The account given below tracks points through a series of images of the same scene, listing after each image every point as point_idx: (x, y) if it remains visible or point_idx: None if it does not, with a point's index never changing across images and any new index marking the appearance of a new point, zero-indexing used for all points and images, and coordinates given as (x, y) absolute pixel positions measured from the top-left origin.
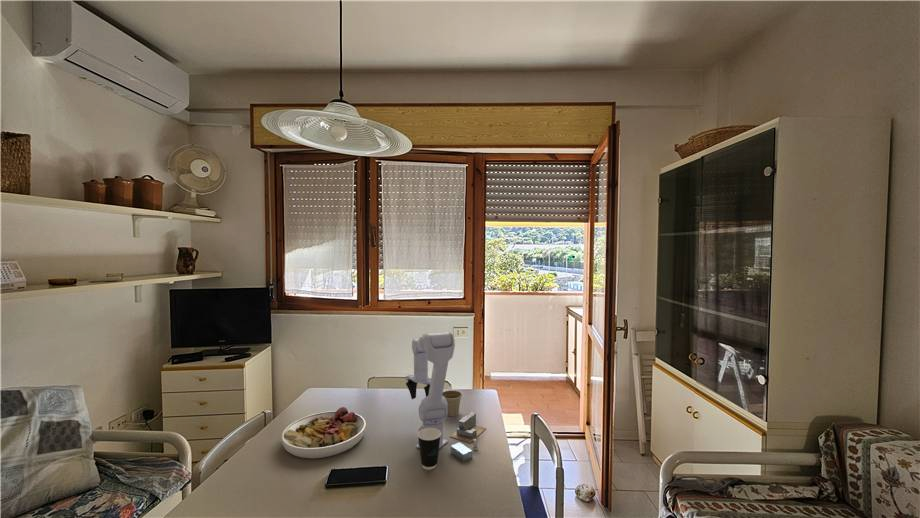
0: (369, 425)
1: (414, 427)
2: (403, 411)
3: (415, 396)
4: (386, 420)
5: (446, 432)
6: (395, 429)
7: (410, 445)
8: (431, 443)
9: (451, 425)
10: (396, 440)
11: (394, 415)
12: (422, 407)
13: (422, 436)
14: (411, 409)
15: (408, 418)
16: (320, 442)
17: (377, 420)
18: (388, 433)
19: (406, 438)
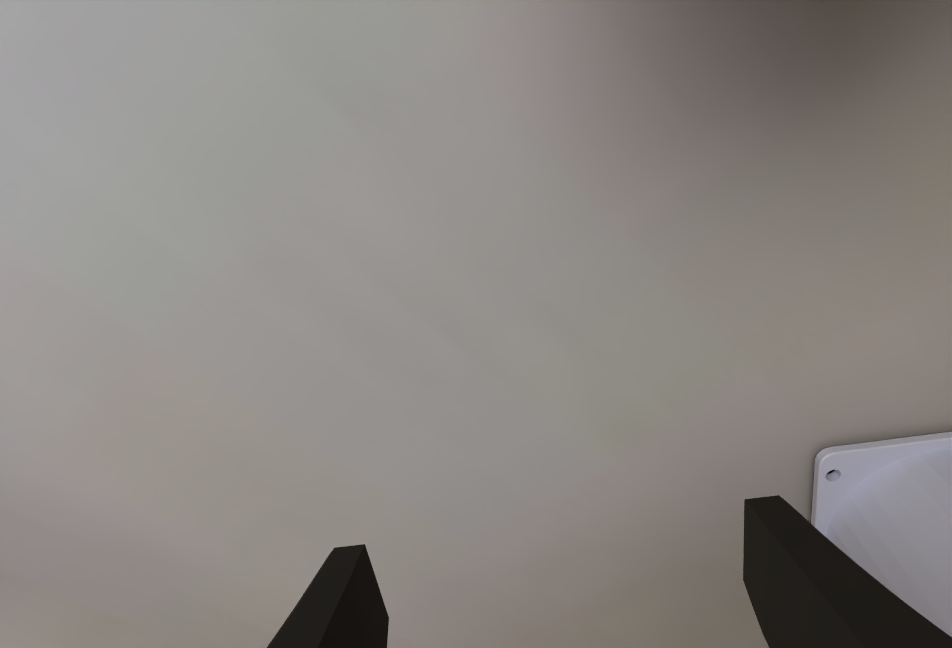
0: (170, 631)
1: (526, 423)
2: (62, 240)
3: (360, 575)
4: (172, 499)
5: (931, 279)
6: (409, 551)
7: (738, 627)
8: None
9: (902, 91)
10: (578, 643)
11: (107, 382)
12: None
13: None
14: (63, 117)
15: (291, 329)
16: None
17: (115, 547)
18: (425, 619)
19: (625, 585)
